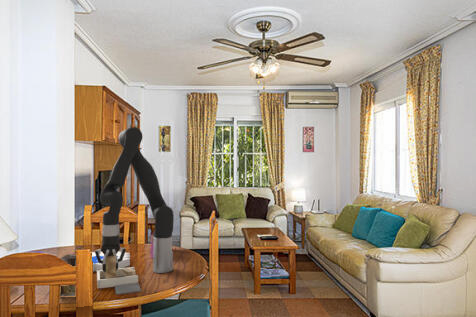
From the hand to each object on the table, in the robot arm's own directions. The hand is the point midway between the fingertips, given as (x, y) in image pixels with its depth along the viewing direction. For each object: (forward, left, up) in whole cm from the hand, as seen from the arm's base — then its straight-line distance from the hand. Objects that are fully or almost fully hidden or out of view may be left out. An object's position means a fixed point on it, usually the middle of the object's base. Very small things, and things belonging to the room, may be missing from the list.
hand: (110, 271), depth 159 cm
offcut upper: (-8, 0, -3) cm, 9 cm away
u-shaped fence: (-3, 0, -5) cm, 5 cm away
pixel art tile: (+2, -31, -5) cm, 32 cm away
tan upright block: (0, 0, -5) cm, 5 cm away
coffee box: (+14, +12, -5) cm, 19 cm away
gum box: (-31, -43, -5) cm, 53 cm away
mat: (-7, +13, -5) cm, 15 cm away
